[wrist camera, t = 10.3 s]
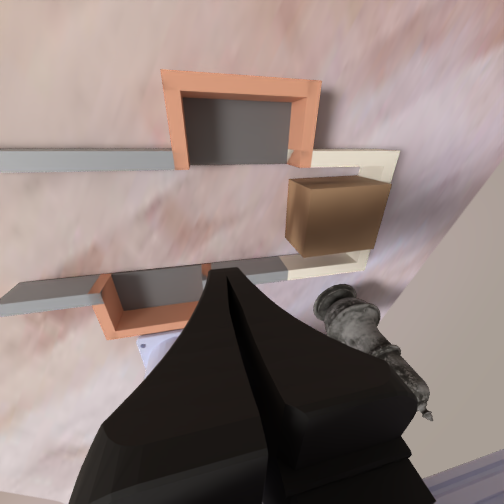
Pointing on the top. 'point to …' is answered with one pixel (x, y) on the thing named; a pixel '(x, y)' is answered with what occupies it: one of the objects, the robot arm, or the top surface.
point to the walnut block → (334, 214)
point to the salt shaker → (366, 335)
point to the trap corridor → (180, 158)
